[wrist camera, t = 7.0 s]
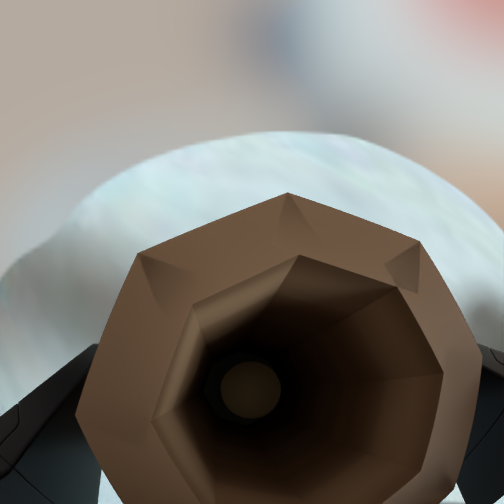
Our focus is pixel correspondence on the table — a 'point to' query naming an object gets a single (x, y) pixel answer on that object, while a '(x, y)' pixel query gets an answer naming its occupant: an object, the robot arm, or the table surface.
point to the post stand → (242, 388)
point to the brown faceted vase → (285, 365)
